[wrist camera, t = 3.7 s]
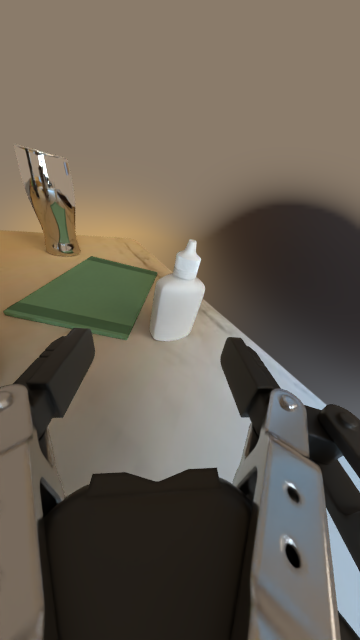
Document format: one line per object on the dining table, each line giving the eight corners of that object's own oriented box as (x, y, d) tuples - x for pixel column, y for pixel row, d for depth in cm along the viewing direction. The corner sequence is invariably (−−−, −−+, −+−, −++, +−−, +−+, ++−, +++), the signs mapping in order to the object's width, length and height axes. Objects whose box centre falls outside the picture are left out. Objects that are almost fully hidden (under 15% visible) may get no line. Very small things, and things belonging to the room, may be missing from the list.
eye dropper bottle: (153, 318, 24) (166, 228, 17) (189, 326, 24) (219, 242, 17) (146, 339, 21) (159, 238, 13) (188, 348, 21) (225, 255, 14)
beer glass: (63, 260, 31) (38, 151, 22) (33, 248, 32) (-3, 139, 23) (90, 252, 36) (79, 162, 27) (64, 242, 37) (45, 152, 28)
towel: (5, 315, 19) (2, 310, 18) (91, 258, 34) (91, 255, 34) (126, 340, 20) (126, 336, 19) (157, 274, 35) (157, 271, 35)
